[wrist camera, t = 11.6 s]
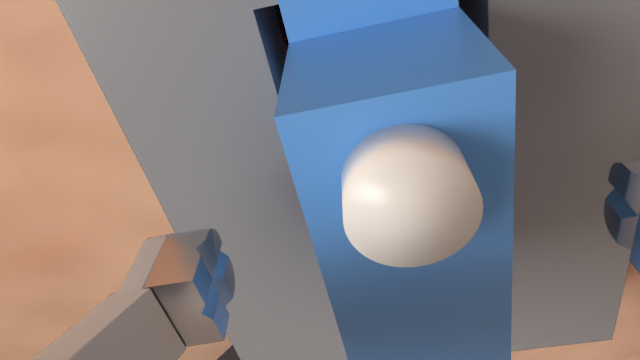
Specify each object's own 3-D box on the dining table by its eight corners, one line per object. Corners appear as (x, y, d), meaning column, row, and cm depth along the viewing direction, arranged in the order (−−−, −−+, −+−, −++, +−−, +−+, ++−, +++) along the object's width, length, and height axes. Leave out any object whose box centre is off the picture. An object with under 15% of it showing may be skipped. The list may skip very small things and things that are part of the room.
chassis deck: (574, 275, 19) (612, 339, 16) (260, 317, 20) (251, 381, 18) (662, -399, 9) (798, -503, 6) (31, -207, 10) (-62, -227, 8)
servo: (449, 247, 18) (522, 475, 11) (359, 260, 18) (378, 487, 12) (414, -168, 11) (561, -214, 4) (266, -129, 11) (178, -111, 4)
